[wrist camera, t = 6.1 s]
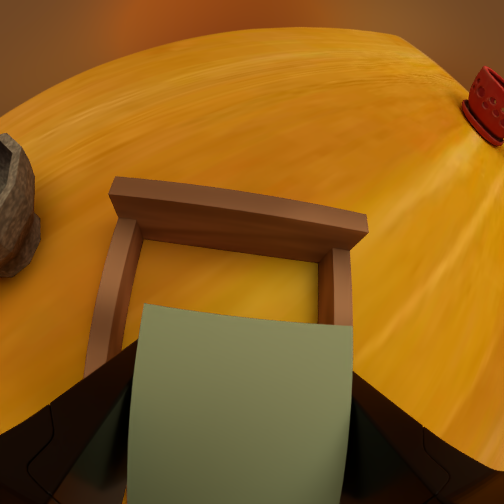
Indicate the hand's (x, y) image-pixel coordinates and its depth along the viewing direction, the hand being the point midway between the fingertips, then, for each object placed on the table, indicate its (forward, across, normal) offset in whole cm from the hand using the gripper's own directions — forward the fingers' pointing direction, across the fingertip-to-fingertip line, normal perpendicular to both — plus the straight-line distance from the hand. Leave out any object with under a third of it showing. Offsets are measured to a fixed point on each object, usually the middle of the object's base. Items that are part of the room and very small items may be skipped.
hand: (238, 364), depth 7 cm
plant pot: (+36, -44, -22) cm, 61 cm away
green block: (+5, 0, +7) cm, 8 cm away
